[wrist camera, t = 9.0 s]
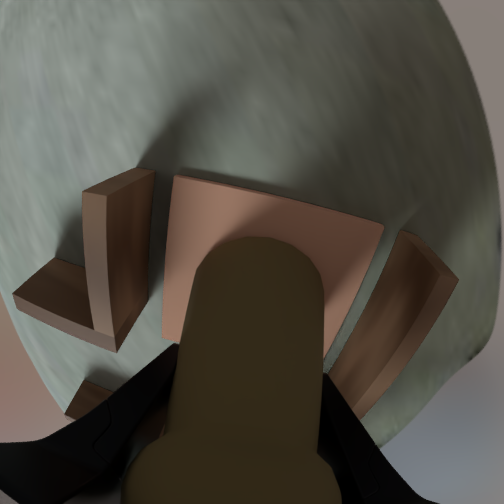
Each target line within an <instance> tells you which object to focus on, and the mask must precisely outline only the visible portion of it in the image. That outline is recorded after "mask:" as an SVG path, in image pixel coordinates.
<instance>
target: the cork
mask: <svg viewBox="0 0 504 504" xmlns="http://www.w3.org/2000/svg"><path fill="white" fill-rule="evenodd" d="M323 355H324V288H323V284H322V279H321V275H320V273H319V271H318V270H317V268H316V267H315V265H314V264H313V263H312V261H311V260H310V258H309V257H308V256H306V255H305V254H304V253H302V252H301V251H300V250H298V249H297V248H295V247H294V246H293V245H291V244H288V243H285V242H282V241H279V240H276V239H273V238H270V237H243V238H239V239H235V240H232V241H228V242H225V243H223V244H222V245H220V246H219V247H217V248H215V249H214V250H212V251H211V252H209V253H208V254H207V255H206V256H205V258H204V259H203V261H202V262H201V263H200V265H199V266H198V267H197V269H196V272H195V276H194V280H193V284H192V288H191V292H190V297H189V301H188V306H187V310H186V315H185V320H184V324H183V329H182V334H181V339H180V345H179V350H178V358H177V366H176V370H175V373H174V377H173V381H172V386H171V392H170V397H169V403H168V408H167V415H166V421H165V427H164V434H163V436H162V437H160V438H159V439H157V440H155V441H154V442H152V443H150V444H149V445H147V446H145V447H144V448H142V449H141V450H140V451H139V453H138V454H137V455H136V457H135V458H134V459H133V461H132V462H131V463H130V465H129V466H128V468H127V471H126V474H125V476H124V479H123V482H122V484H121V499H120V504H342V497H341V492H340V489H339V486H338V483H337V481H336V478H335V476H334V473H333V471H332V468H331V467H330V466H329V465H328V464H327V463H326V462H325V461H324V460H323V459H322V458H321V457H320V456H319V455H318V454H317V446H318V436H319V424H320V412H321V397H322V379H323Z"/></svg>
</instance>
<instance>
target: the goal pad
mask: <svg viewBox="0 0 504 504" xmlns="http://www.w3.org/2000/svg"><path fill="white" fill-rule="evenodd" d="M383 230H384V226H383V225H382V224H380V223H376V222H373V221H370V220H366V219H363V218H360V217H356V216H353V215H349V214H346V213H342V212H338V211H335V210H331V209H328V208H324V207H320V206H316V205H312V204H309V203H305V202H301V201H297V200H293V199H289V198H285V197H281V196H277V195H272V194H268V193H264V192H259V191H255V190H251V189H246V188H242V187H237V186H232V185H228V184H223V183H218V182H213V181H208V180H203V179H198V178H193V177H188V176H182V175H175V176H174V179H173V187H172V195H171V203H170V212H169V222H168V232H167V244H166V256H165V271H164V289H163V314H162V338H165V339H168V340H172V341H175V342H179V343H180V339H181V334H182V329H183V324H184V320H185V315H186V310H187V306H188V301H189V297H190V292H191V288H192V284H193V280H194V276H195V272H196V269H197V267H198V266H199V265H200V263H201V262H202V261H203V259H204V258H205V256H206V255H207V254H208V253H209V252H211V251H212V250H214V249H215V248H217V247H219V246H220V245H222V244H223V243H225V242H228V241H232V240H235V239H239V238H243V237H270V238H273V239H276V240H279V241H282V242H285V243H288V244H291V245H293V246H294V247H295V248H297V249H298V250H300V251H301V252H302V253H304V254H305V255H306V256H308V257H309V258H310V260H311V261H312V263H313V264H314V265H315V267H316V268H317V270H318V271H319V273H320V275H321V279H322V284H323V288H324V355H323V359H324V357H325V355H326V353H327V352H328V350H329V348H330V346H331V344H332V342H333V340H334V339H335V337H336V335H337V333H338V331H339V329H340V327H341V325H342V323H343V321H344V319H345V317H346V315H347V313H348V311H349V309H350V307H351V305H352V302H353V300H354V298H355V296H356V294H357V292H358V290H359V287H360V285H361V283H362V281H363V279H364V276H365V274H366V272H367V269H368V267H369V265H370V262H371V260H372V258H373V255H374V253H375V250H376V248H377V245H378V243H379V240H380V238H381V235H382V233H383Z"/></svg>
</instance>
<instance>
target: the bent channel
mask: <svg viewBox="0 0 504 504" xmlns="http://www.w3.org/2000/svg"><path fill="white" fill-rule="evenodd" d="M154 180H155V171H154V170H148V169H142V168H133V169H130V170H128V171H126V172H123V173H121V174H119V175H116V176H114V177H112V178H110V179H107V180H105V181H103V182H101V183H99V184H96V185H94V186H92V187H90V188H88V189H86V190H84V191H82V224H83V244H84V257H85V268H84V267H81V266H77V265H74V264H71V263H68V262H65V261H62V260H59V259H56V258H53V259H52V260H50V261H49V262H48V263H47V264H46V265H44V266H43V267H42V268H41V269H40V270H38V271H37V272H36V273H35V274H34V275H33V276H31V277H30V278H29V279H28V280H27V281H26V282H24V283H23V284H22V285H21V286H20V287H19V288H18V289H17V290H16V291H14V292H13V293H12V294H13V298H14V301H15V304H16V307H17V309H18V310H20V311H22V312H24V313H26V314H28V315H30V316H32V317H34V318H36V319H38V320H40V321H42V322H44V323H46V324H48V325H50V326H52V327H54V328H56V329H59V330H61V331H63V332H65V333H67V334H70V335H72V336H74V337H77V338H79V339H81V340H84V341H86V342H89V343H91V344H94V345H96V346H99V347H101V348H104V349H107V350H109V351H112V352H115V353H117V352H118V350H119V348H120V347H121V345H122V343H123V342H124V340H125V338H126V337H127V335H128V333H129V332H130V330H131V328H132V327H133V325H134V323H135V322H136V320H137V318H138V317H139V315H140V313H141V312H142V310H143V309H144V307H145V305H146V304H147V302H148V261H149V240H150V224H151V211H152V199H153V189H154ZM458 281H459V279H458V278H457V277H456V276H455V274H454V273H453V272H452V271H451V270H450V269H449V268H448V267H447V266H446V265H445V264H444V262H443V261H442V260H441V259H440V258H439V257H438V256H437V255H436V254H435V253H434V252H433V251H432V250H431V249H430V248H429V247H428V246H427V245H426V244H425V243H424V242H423V241H422V240H421V239H420V238H419V237H418V236H417V235H415V234H412V233H408V232H405V231H402V230H400V231H399V233H398V236H397V238H396V241H395V243H394V246H393V248H392V250H391V253H390V255H389V257H388V260H387V262H386V264H385V267H384V269H383V271H382V273H381V276H380V278H379V280H378V282H377V284H376V286H375V288H374V290H373V293H372V295H371V297H370V299H369V301H368V303H367V305H366V307H365V309H364V311H363V313H362V315H361V317H360V318H359V320H358V322H357V324H356V326H355V328H354V330H353V332H352V333H351V335H350V337H349V339H348V341H347V342H346V344H345V346H344V348H343V350H342V351H341V353H340V355H339V356H338V358H337V360H336V362H335V363H334V365H333V367H332V368H331V370H330V372H329V373H328V375H329V377H330V378H331V380H332V381H333V383H334V384H335V386H336V387H337V388H338V390H339V391H340V393H341V394H342V396H343V397H344V399H345V400H346V402H347V403H348V405H349V406H350V407H351V409H352V410H353V412H354V413H355V415H356V416H357V418H358V419H359V421H360V420H361V418H362V417H363V416H364V415H365V414H366V413H367V412H368V411H369V410H370V409H371V407H372V406H373V405H374V404H375V403H376V402H377V401H378V399H379V398H380V397H381V396H382V395H383V393H384V392H385V391H386V390H387V389H388V387H389V386H390V385H391V384H392V382H393V381H394V380H395V379H396V377H397V376H398V375H399V374H400V372H401V371H402V370H403V368H404V367H405V366H406V364H407V363H408V361H409V360H410V359H411V357H412V356H413V355H414V353H415V352H416V350H417V349H418V347H419V346H420V344H421V343H422V342H423V340H424V339H425V337H426V335H427V334H428V332H429V331H430V329H431V328H432V326H433V325H434V323H435V321H436V320H437V318H438V316H439V315H440V313H441V311H442V310H443V308H444V306H445V305H446V303H447V301H448V299H449V298H450V296H451V294H452V292H453V290H454V288H455V287H456V285H457V283H458ZM112 393H114V392H111V391H109V390H106V389H104V388H101V387H99V386H97V385H94V384H92V383H90V382H87V381H85V380H83V382H82V384H81V386H80V387H79V389H78V391H77V392H76V394H75V396H74V398H73V399H72V401H71V403H70V405H69V406H68V408H67V410H66V412H65V414H64V415H65V416H66V418H67V420H69V421H71V422H74V421H75V420H77V419H79V418H80V417H82V416H83V415H85V414H86V413H88V412H89V411H91V410H92V409H93V408H95V407H96V406H97V405H99V404H100V403H101V402H102V401H103V400H105V399H107V397H109V396H110V395H111V394H112ZM164 427H165V424H164ZM164 427H163V429H162V431H161V434H160V436H159V438H160V437H162V436H163V434H164Z"/></svg>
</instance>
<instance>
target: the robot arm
mask: <svg viewBox="0 0 504 504" xmlns="http://www.w3.org/2000/svg"><path fill="white" fill-rule="evenodd" d="M179 345H180V344H176V343H173V344H172V345H171V346H169V347H168V348H167V349H166V350H165V351H163V352H162V353H161V354H160V355H159V356H157V357H156V358H155V359H154V360H153V361H151V362H150V363H149V364H148V365H147V366H145V367H144V368H143V369H142V370H140V371H139V372H138V373H137V374H136V375H134V376H133V377H132V378H131V379H130V380H128V381H127V382H126V383H125V384H123V385H122V386H121V387H120V388H118V389H117V390H116V391H115V392H114V393H112V394H111V395H110V396H109V397H107V399H105V400H103V401H102V402H101V403H100V404H99V405H97V406H96V407H95V408H93V409H92V410H91V411H89V412H88V413H86V414H85V415H83V416H82V417H80V418H79V419H77V420H75V421H74V422H72V423H70V424H68V425H67V426H66V427H63V428H62V429H60V430H58V431H56V432H55V433H53V434H51V435H50V436H47V437H45V438H43V439H40V440H36V441H29V442H11V443H0V504H120V499H121V484H122V482H123V479H124V476H125V474H126V471H127V468H128V466H129V465H130V463H131V462H132V461H133V459H134V458H135V457H136V455H137V454H138V453H139V451H140V450H141V449H142V448H144V447H145V446H147V445H149V444H150V443H152V442H154V441H155V440H157V439H159V436H160V434H161V431H162V429H163V427H164V424H165V421H166V415H167V408H168V403H169V397H170V392H171V386H172V381H173V377H174V373H175V370H176V366H177V358H178V350H179ZM317 454H318V455H319V456H320V457H321V458H322V459H323V460H324V461H325V462H326V463H327V464H328V465H329V466H330V467H331V468H332V471H333V473H334V476H335V478H336V481H337V483H338V486H339V489H340V492H341V497H342V504H439V503H436V502H432V501H429V500H426V499H424V498H422V497H421V496H419V495H418V494H417V493H416V492H415V491H414V490H412V488H411V487H410V486H409V485H408V484H407V483H406V481H405V480H403V478H402V477H401V476H400V475H399V474H398V473H397V471H396V470H395V469H394V468H393V467H392V466H391V464H390V463H389V462H388V460H387V459H386V458H385V456H384V455H383V454H382V452H381V451H380V449H379V448H378V447H377V445H375V442H374V441H373V439H372V438H371V437H370V435H369V434H368V432H367V431H366V429H365V428H364V426H363V425H362V423H361V422H360V421H359V419H358V418H357V416H356V415H355V413H354V412H353V410H352V409H351V407H350V406H349V405H348V403H347V402H346V400H345V399H344V397H343V396H342V394H341V393H340V391H339V390H338V388H337V387H336V386H335V384H334V383H333V381H332V380H331V378H330V377H329V375H328V374H327V373H323V379H322V397H321V412H320V424H319V436H318V446H317Z"/></svg>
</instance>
